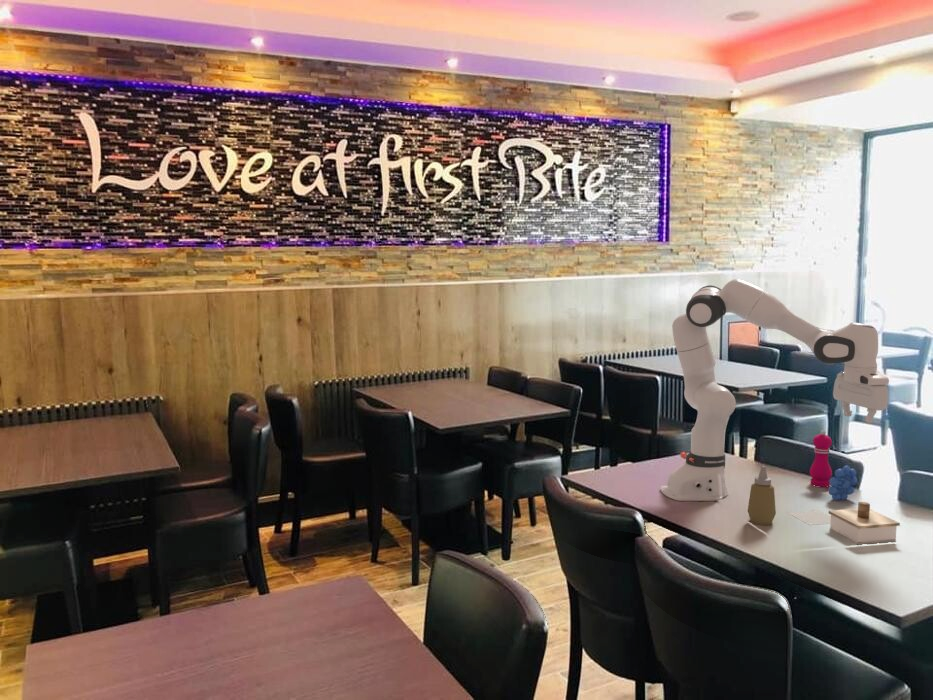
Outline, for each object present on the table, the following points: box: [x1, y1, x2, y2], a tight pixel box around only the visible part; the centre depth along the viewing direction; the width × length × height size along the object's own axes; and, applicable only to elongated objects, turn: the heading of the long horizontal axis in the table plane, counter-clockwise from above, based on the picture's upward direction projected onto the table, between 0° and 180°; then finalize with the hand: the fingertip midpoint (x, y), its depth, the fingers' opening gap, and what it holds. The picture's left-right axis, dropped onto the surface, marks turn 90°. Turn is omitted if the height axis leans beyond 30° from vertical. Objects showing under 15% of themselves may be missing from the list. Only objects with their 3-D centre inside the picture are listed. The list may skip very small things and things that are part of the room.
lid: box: [828, 501, 901, 529], centre depth 212 cm, size 13×13×5 cm
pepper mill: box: [809, 430, 833, 488], centre depth 259 cm, size 7×7×20 cm
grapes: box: [827, 465, 859, 501], centre depth 243 cm, size 12×7×12 cm, turn 110°
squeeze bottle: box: [747, 465, 777, 526], centre depth 222 cm, size 8×8×18 cm
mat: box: [788, 510, 831, 526], centre depth 226 cm, size 11×11×1 cm
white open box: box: [829, 514, 898, 546], centre depth 212 cm, size 12×12×5 cm
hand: (857, 419), depth 226 cm, fingers open, 8 cm apart
